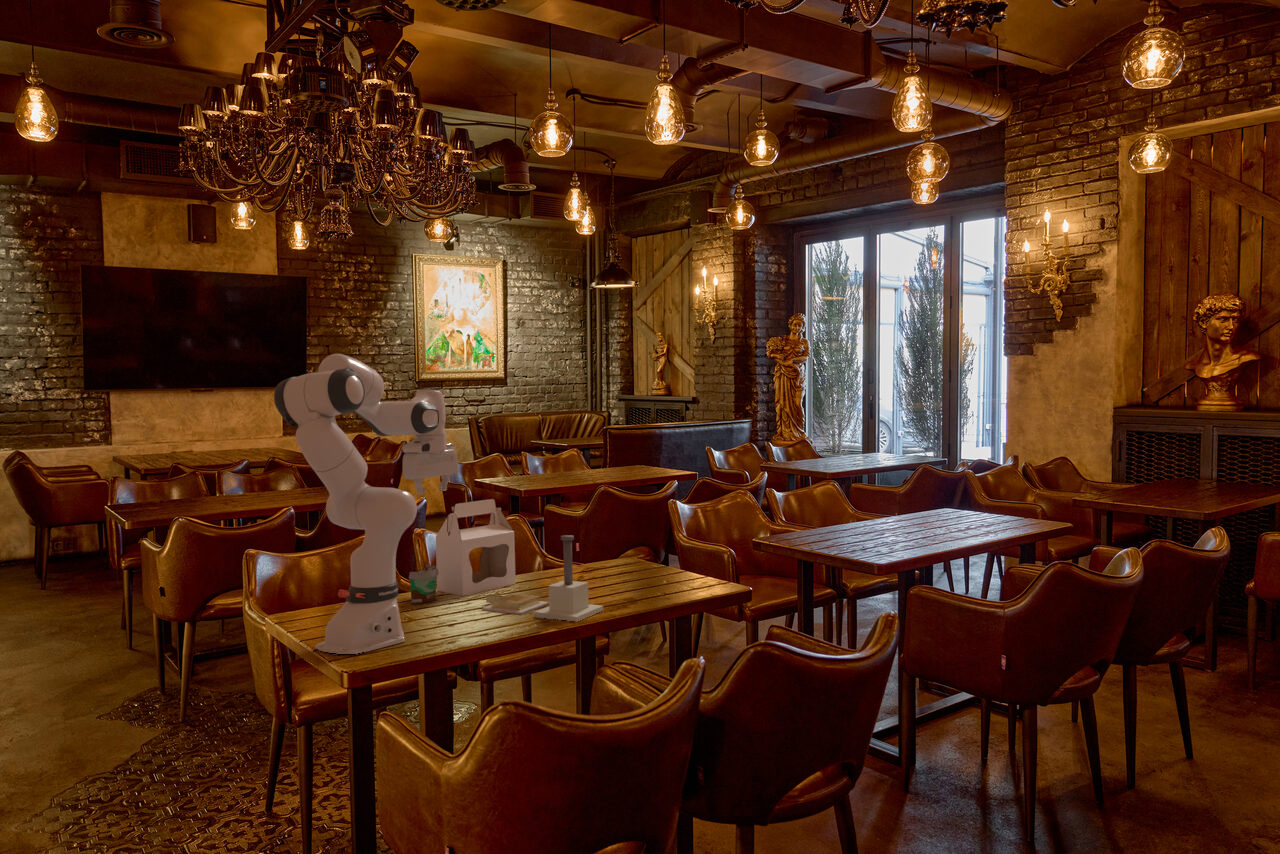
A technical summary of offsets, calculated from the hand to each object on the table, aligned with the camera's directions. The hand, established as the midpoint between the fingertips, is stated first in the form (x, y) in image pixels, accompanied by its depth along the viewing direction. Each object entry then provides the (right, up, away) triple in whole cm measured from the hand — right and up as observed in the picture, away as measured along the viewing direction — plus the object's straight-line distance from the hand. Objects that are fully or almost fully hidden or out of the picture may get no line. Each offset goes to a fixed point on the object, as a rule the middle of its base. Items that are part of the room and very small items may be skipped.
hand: (432, 492), depth 263 cm
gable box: (+8, -33, +29) cm, 45 cm away
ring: (+22, -33, +2) cm, 40 cm away
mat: (+24, -34, +1) cm, 41 cm away
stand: (+40, -34, -9) cm, 53 cm away
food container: (-4, -34, +10) cm, 36 cm away
